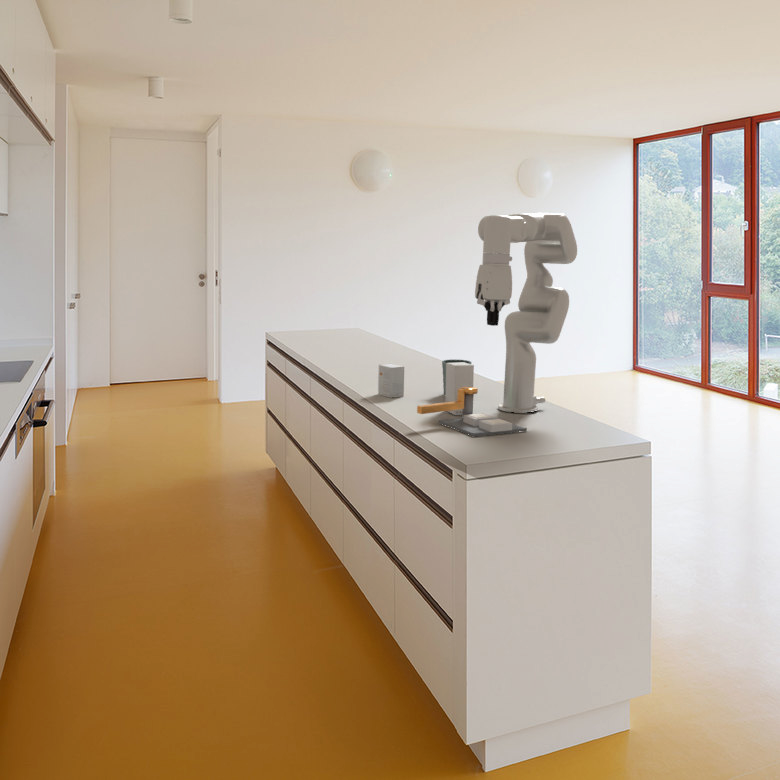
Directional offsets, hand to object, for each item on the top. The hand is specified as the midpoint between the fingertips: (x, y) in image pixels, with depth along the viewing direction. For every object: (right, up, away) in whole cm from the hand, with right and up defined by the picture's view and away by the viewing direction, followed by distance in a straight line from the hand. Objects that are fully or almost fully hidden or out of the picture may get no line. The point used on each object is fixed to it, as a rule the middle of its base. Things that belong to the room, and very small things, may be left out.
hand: (492, 325), depth 222 cm
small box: (-29, -21, +46) cm, 58 cm away
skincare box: (-8, -26, +20) cm, 34 cm away
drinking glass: (-6, -21, +50) cm, 55 cm away
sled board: (-3, -29, +1) cm, 30 cm away
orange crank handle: (-13, -24, +2) cm, 27 cm away
